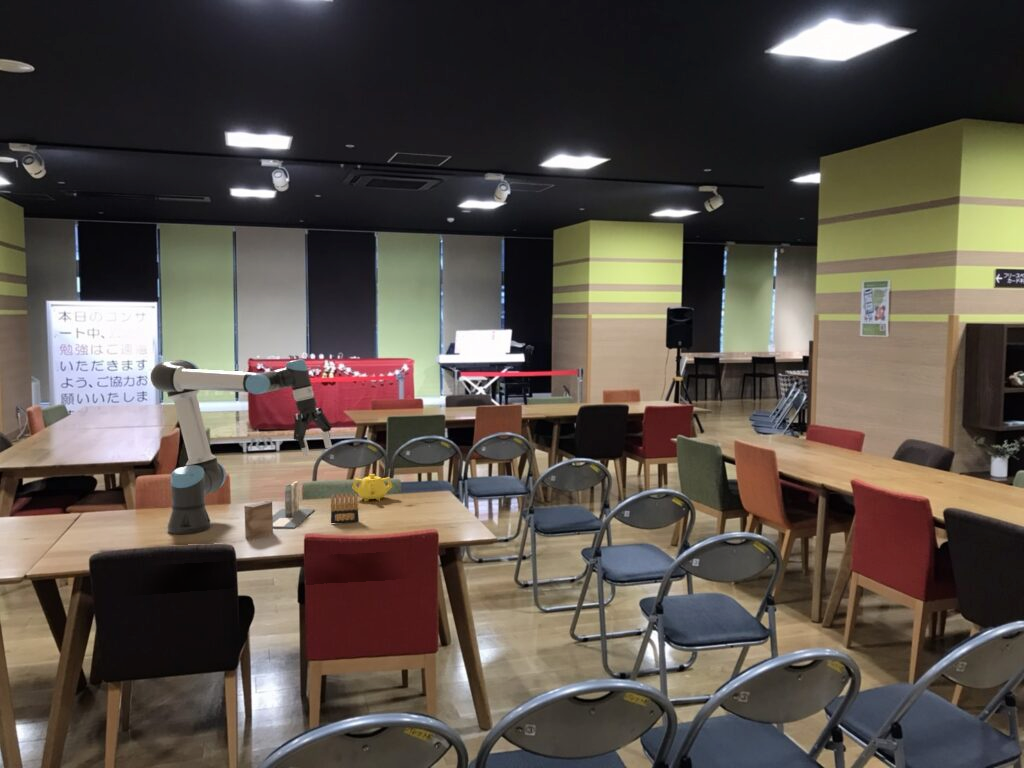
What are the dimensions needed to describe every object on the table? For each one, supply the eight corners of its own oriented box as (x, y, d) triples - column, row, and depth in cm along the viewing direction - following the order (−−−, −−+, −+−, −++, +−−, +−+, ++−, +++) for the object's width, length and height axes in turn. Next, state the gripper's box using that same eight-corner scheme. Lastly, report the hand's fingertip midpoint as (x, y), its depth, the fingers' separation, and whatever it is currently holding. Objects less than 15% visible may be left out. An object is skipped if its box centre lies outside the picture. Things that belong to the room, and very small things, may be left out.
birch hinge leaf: (290, 517, 306) (290, 485, 305) (284, 517, 306) (283, 485, 305) (300, 509, 318) (299, 479, 317) (294, 509, 318) (293, 479, 317)
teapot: (352, 494, 348) (352, 470, 347) (392, 493, 351) (391, 469, 350) (351, 505, 328) (350, 479, 327) (393, 503, 332) (393, 478, 331)
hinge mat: (294, 528, 292) (294, 526, 292) (257, 528, 293) (257, 526, 293) (314, 510, 320) (314, 508, 320) (281, 510, 320) (281, 508, 320)
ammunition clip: (358, 521, 303) (357, 491, 302) (358, 522, 301) (358, 492, 300) (330, 523, 300) (330, 493, 299) (331, 524, 298) (330, 494, 297)
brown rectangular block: (245, 537, 280) (244, 505, 279) (267, 531, 289) (266, 500, 288) (253, 539, 278) (252, 507, 277) (275, 532, 287) (274, 501, 286)
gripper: (290, 403, 284) (304, 458, 285) (332, 392, 306) (344, 443, 308) (275, 406, 287) (289, 460, 289) (317, 395, 310) (330, 445, 311)
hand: (318, 451), depth 298 cm, fingers open, 13 cm apart
